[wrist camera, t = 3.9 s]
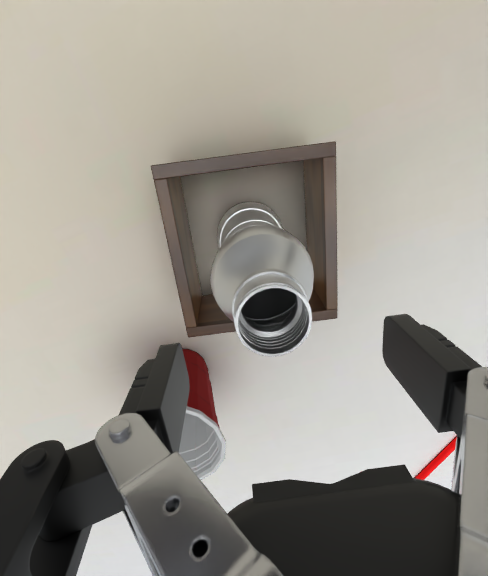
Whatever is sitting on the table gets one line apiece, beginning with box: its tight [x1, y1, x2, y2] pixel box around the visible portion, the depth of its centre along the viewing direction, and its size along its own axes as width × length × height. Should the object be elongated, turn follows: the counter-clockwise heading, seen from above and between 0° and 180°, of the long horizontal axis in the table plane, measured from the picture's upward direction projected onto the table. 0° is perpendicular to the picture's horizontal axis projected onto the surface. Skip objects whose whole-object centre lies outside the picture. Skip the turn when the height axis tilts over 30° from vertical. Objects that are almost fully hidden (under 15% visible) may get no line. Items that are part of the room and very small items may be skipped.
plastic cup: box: [179, 349, 226, 480], centre depth 33 cm, size 11×11×12 cm
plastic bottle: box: [210, 202, 314, 356], centre depth 24 cm, size 6×7×20 cm
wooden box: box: [151, 142, 337, 337], centre depth 29 cm, size 15×14×7 cm
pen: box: [415, 437, 457, 480], centre depth 46 cm, size 1×19×1 cm, turn 152°
